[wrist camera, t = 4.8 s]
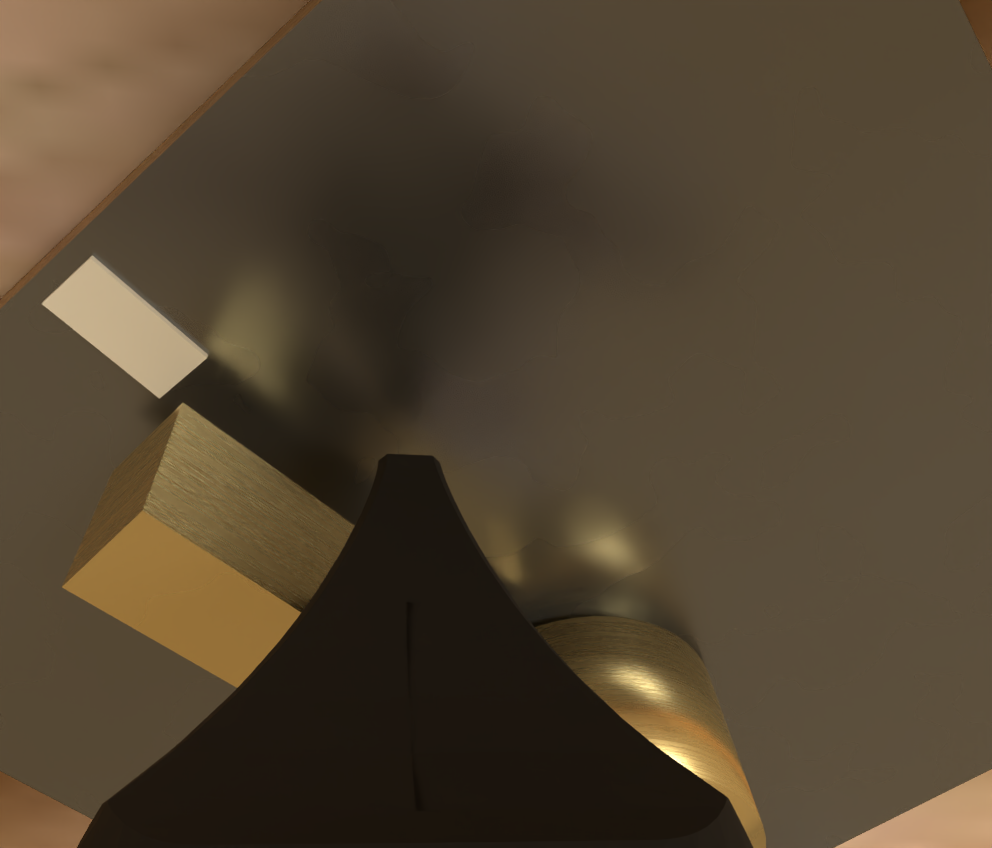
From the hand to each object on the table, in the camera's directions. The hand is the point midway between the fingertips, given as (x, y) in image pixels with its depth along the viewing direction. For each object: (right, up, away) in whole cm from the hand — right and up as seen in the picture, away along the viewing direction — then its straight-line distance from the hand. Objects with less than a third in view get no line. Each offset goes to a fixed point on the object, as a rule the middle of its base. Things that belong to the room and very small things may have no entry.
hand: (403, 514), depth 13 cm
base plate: (+2, -1, +5) cm, 6 cm away
